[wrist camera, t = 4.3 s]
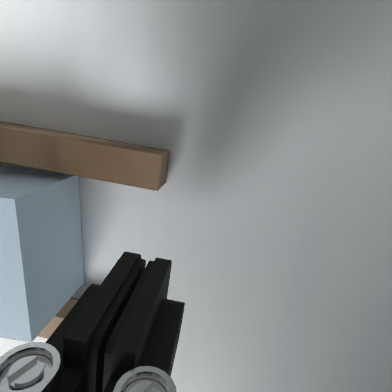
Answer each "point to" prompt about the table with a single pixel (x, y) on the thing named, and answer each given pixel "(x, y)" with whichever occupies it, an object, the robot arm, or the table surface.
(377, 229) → the table surface
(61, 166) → the wooden rail frame
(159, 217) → the table surface
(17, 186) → the block
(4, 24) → the table surface
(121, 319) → the robot arm
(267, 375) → the table surface
